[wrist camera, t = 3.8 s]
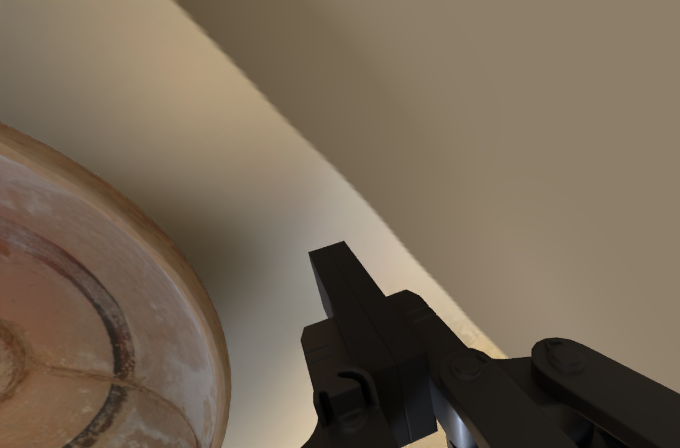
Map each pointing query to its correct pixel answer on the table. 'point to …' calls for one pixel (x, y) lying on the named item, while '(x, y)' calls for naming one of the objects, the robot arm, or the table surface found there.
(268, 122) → the table surface
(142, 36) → the table surface
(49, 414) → the ceramic bowl
